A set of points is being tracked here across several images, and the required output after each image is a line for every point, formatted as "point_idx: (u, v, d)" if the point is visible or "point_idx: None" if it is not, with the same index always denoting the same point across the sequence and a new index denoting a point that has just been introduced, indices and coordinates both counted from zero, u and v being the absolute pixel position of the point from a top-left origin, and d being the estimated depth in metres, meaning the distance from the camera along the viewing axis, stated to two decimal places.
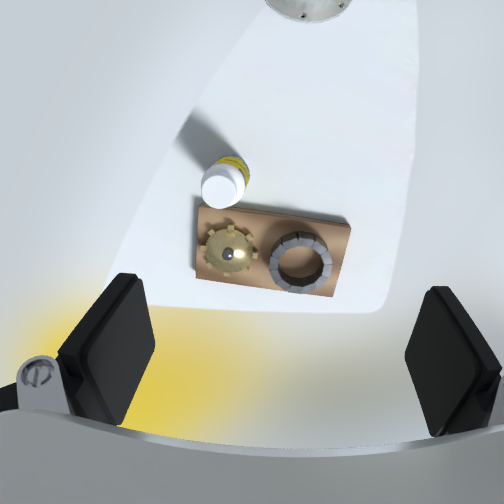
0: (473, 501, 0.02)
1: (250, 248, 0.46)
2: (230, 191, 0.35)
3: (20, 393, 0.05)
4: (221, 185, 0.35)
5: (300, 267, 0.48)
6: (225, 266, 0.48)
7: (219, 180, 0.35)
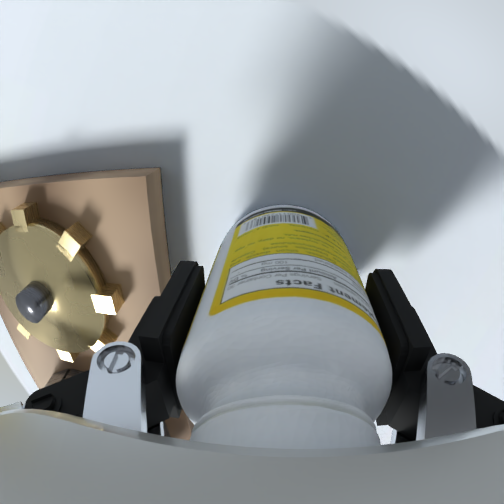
0: (473, 501, 0.02)
1: (75, 349, 0.14)
2: None
3: (92, 376, 0.06)
4: None
5: None
6: (6, 284, 0.12)
7: None
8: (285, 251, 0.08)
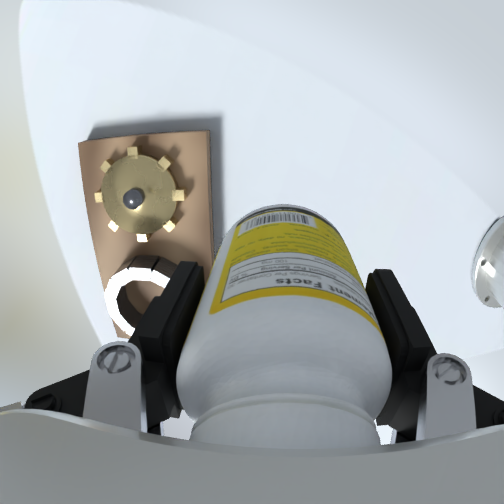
0: (473, 501, 0.02)
1: (151, 230, 0.27)
2: None
3: (92, 376, 0.06)
4: None
5: (143, 296, 0.31)
6: (110, 193, 0.25)
7: None
8: (285, 250, 0.08)
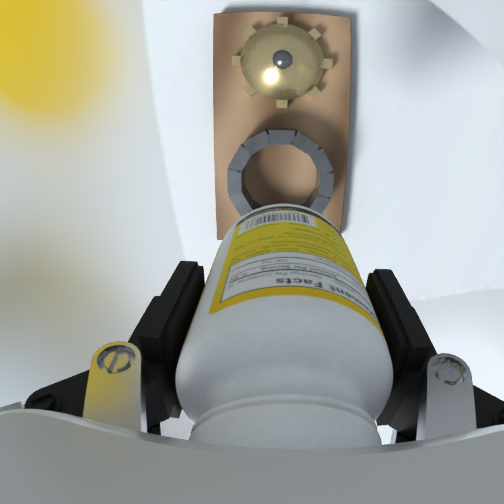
0: (473, 501, 0.02)
1: (294, 95, 0.24)
2: None
3: (92, 376, 0.06)
4: None
5: (264, 179, 0.29)
6: (251, 56, 0.23)
7: None
8: (285, 250, 0.08)
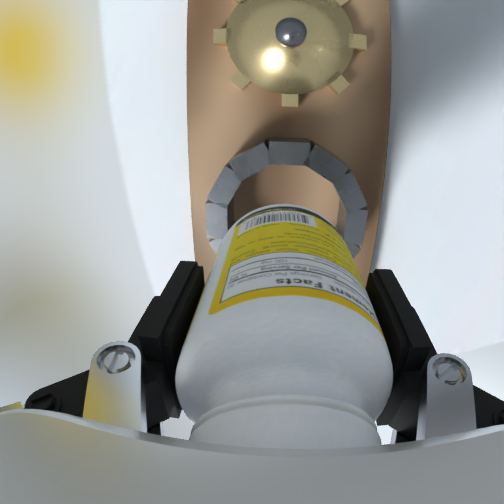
0: (473, 501, 0.02)
1: (310, 88, 0.15)
2: None
3: (92, 376, 0.06)
4: None
5: None
6: (243, 29, 0.14)
7: None
8: (285, 250, 0.08)
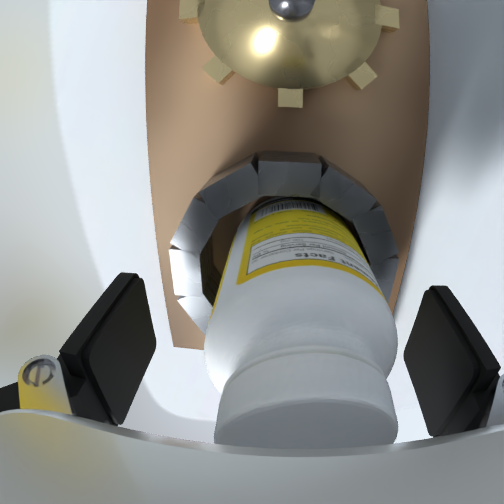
0: (473, 501, 0.02)
1: (319, 79, 0.10)
2: None
3: (21, 393, 0.05)
4: None
5: None
6: None
7: None
8: (300, 231, 0.09)
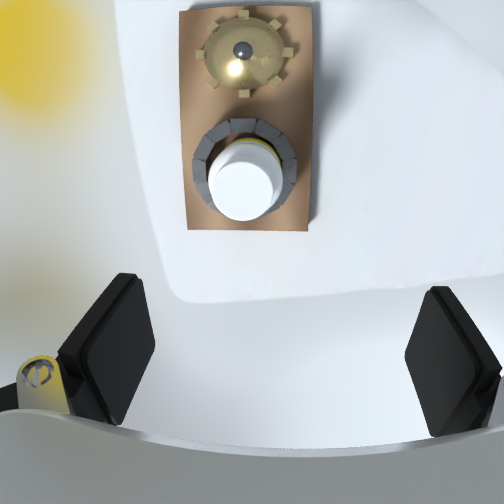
0: (473, 501, 0.02)
1: (256, 85, 0.25)
2: (246, 212, 0.21)
3: (20, 393, 0.05)
4: (255, 196, 0.20)
5: None
6: (214, 50, 0.23)
7: (264, 192, 0.20)
8: (245, 140, 0.24)
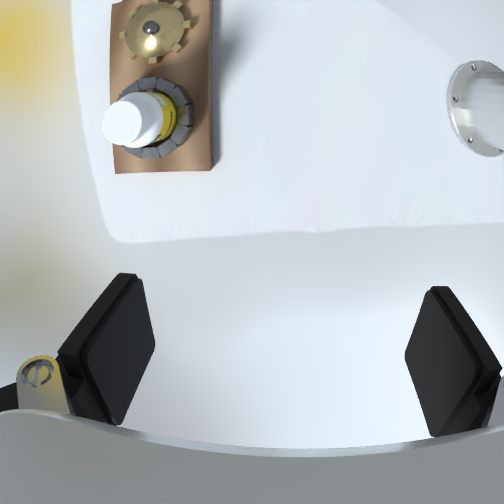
0: (473, 501, 0.02)
1: (161, 52, 0.28)
2: (124, 137, 0.24)
3: (20, 393, 0.05)
4: (130, 125, 0.24)
5: None
6: (132, 30, 0.27)
7: (135, 121, 0.24)
8: None
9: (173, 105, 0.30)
